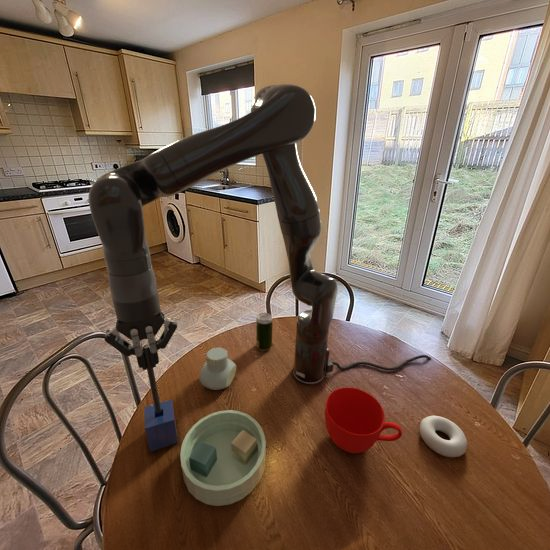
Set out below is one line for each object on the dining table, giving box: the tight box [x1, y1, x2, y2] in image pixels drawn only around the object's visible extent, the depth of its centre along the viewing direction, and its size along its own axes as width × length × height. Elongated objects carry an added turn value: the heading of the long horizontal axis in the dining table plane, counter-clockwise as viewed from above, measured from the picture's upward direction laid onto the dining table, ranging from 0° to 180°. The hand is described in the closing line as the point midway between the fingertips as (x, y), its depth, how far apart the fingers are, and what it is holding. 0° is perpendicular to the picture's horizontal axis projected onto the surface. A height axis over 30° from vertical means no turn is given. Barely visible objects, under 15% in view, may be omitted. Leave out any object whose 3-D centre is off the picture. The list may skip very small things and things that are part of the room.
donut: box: [419, 415, 468, 458], centre depth 69 cm, size 10×3×10 cm
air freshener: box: [198, 346, 237, 391], centre depth 83 cm, size 11×8×10 cm
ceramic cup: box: [324, 386, 403, 454], centre depth 67 cm, size 13×17×10 cm
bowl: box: [179, 409, 267, 507], centre depth 63 cm, size 18×18×6 cm
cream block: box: [231, 430, 257, 465], centre depth 64 cm, size 4×4×4 cm
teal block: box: [189, 441, 217, 477], centre depth 62 cm, size 4×4×4 cm
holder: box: [143, 399, 179, 453], centre depth 67 cm, size 6×6×8 cm
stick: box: [142, 344, 161, 413], centre depth 61 cm, size 1×1×18 cm
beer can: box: [255, 312, 274, 352], centre depth 98 cm, size 5×5×12 cm
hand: (149, 365), depth 60 cm, fingers closed on stick, 1 cm apart
